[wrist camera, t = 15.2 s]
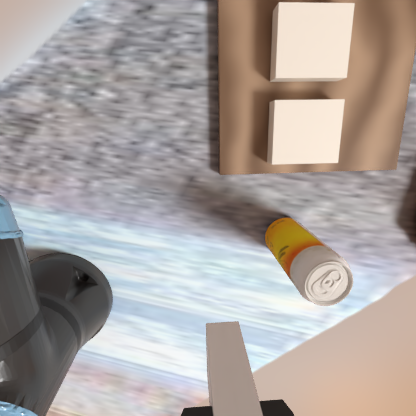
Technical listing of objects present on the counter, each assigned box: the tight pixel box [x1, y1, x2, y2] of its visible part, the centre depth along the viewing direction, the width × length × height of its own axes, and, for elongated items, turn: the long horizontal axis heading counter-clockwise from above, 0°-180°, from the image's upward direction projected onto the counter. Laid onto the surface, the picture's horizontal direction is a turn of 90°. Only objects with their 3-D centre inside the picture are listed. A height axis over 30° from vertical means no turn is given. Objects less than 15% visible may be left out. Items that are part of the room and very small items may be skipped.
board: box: [218, 0, 416, 175], centre depth 37 cm, size 26×22×2 cm
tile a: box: [270, 2, 355, 82], centre depth 34 cm, size 3×8×9 cm
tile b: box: [267, 99, 345, 165], centre depth 37 cm, size 3×8×9 cm
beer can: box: [265, 218, 353, 306], centre depth 36 cm, size 6×6×15 cm
